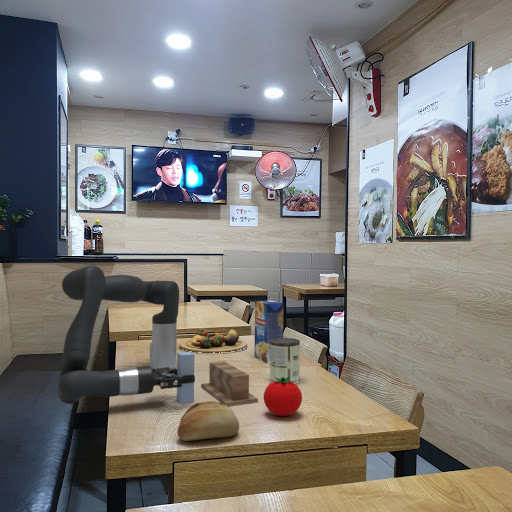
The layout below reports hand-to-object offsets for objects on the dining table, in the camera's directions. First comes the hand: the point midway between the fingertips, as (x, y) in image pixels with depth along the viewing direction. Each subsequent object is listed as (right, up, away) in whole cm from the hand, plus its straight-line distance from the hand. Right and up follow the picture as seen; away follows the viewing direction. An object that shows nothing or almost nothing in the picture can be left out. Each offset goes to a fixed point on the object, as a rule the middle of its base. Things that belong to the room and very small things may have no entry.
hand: (190, 375), depth 138 cm
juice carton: (+25, -8, +57) cm, 62 cm away
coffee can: (+29, -8, +22) cm, 38 cm away
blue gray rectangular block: (-1, -7, -1) cm, 8 cm away
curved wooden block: (+11, -8, +7) cm, 15 cm away
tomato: (+27, -8, -12) cm, 30 cm away
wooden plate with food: (-1, -8, +83) cm, 83 cm away
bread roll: (+8, -8, -28) cm, 30 cm away
